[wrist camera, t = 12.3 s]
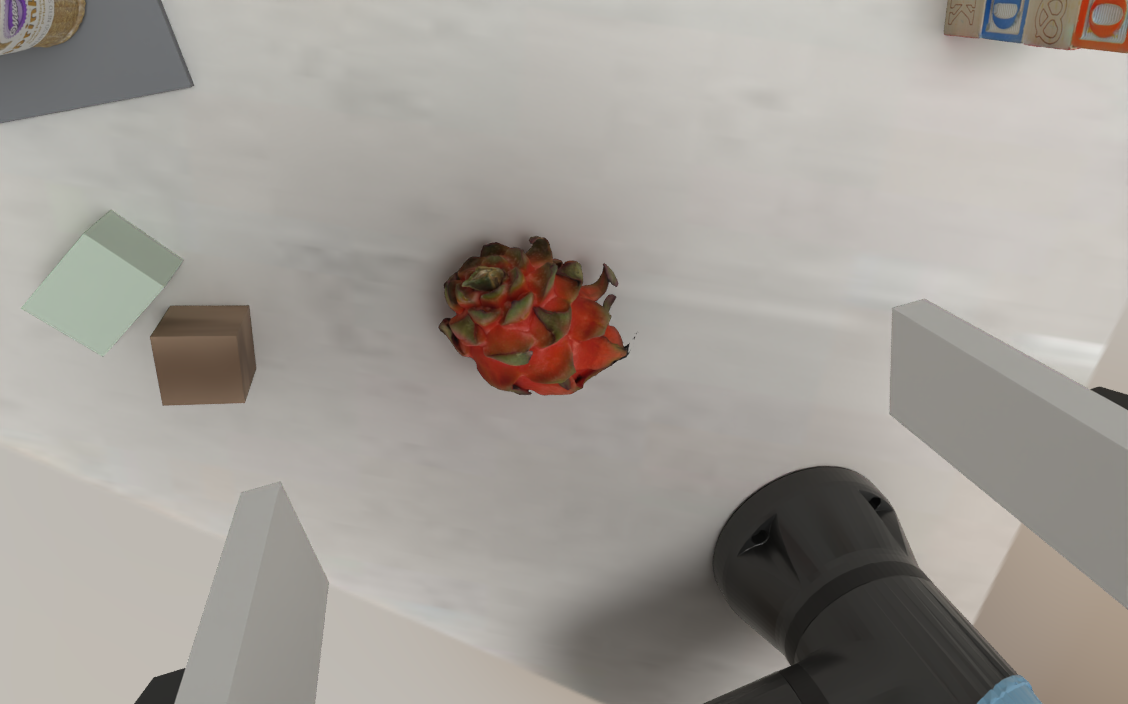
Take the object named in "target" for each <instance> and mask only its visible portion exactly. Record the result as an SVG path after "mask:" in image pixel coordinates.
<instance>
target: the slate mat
mask: <svg viewBox="0 0 1128 704" xmlns="http://www.w3.org/2000/svg"><path fill="white" fill-rule="evenodd" d="M85 2H86V4H85V13H84V16H83V19H82V23H80V25H79V28H78V30H77V31H76V33H75V34H74V35H73V36H72V37H71V38H70V39H68V40H67V41H65V42H64V43H60V44H58V45H53V46H51V47H31V48H29V49H26V50H23V51H19V52H14V53H9V54H4V55H0V123H3V122H8V121H14V120H19V119H24V118H30V117H35V116H40V115H46V114H51V113H56V112H61V111H67V110H72V109H77V108H83V107H88V106H93V105H98V104H104V103H109V102H114V101H120V100H125V99H130V98H136V97H141V96H146V95H151V94H157V93H162V92H167V91H173V90H178V89H183V88H188V87H192V86H194V84H193V82H192V79H191V76H190V74H189V71H188V69H187V66H186V64H185V61H184V58H183V56H182V53H181V51H180V48H179V46H178V43H177V40H176V38H175V35H174V33H173V30H172V28H171V25H170V22H169V20H168V17H167V15H166V12H165V10H164V7H163V4H162V2H161V0H85Z"/></svg>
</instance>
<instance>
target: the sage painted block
mask: <svg viewBox="0 0 1128 704" xmlns="http://www.w3.org/2000/svg"><path fill="white" fill-rule="evenodd" d="M182 262H183V259H182V258H180V257H179V256H177V255H176V254H174V253H173V252H171V251H170V250H169V249H167V248H166V247H164V246H163V245H161V244H160V243H158V242H157V241H156V240H154V239H153V238H151V237H150V236H148V235H147V234H146V233H144V232H143V231H141V230H140V229H138V228H137V227H135V226H134V225H133V224H131V223H130V222H128V221H127V220H125V219H124V218H122V217H121V216H120V215H118V214H117V213H115V212H114V211H112V210H110V211H109V212H108V213H107V214H106V215H105V216H103V217H102V218H101V219H100V220H99V221H98V222H96V223H95V224H94V225H93V226H92V227H90V228H89V229H88V230H87V231H86V232H85V233H83V235H82V236H81V237H80V238H79V239H78V241H77V242H76V243H75V244H74V245H73V247H72V248H71V249H70V250H69V251H68V253H67V254H66V255H65V256H64V257H63V259H62V260H61V261H60V262H59V263H58V265H57V266H56V267H55V268H54V269H53V271H52V272H51V273H50V274H49V275H48V277H47V278H46V279H45V280H44V281H43V282H42V284H41V285H40V286H39V287H38V288H37V290H36V291H35V292H34V293H33V294H32V296H31V297H30V298H29V299H28V300H27V302H26V303H25V304H24V305H23V306H22V308H21V309H23V310H24V311H26V312H28V313H29V314H31V315H33V316H34V317H36V318H38V319H40V320H41V321H43V322H45V323H46V324H48V325H50V326H51V327H53V328H55V329H57V330H58V331H60V332H62V333H63V334H65V335H67V336H68V337H70V338H72V339H74V340H75V341H77V342H79V343H80V344H82V345H84V346H85V347H87V348H89V349H91V350H92V351H94V352H96V353H97V354H99V355H101V356H102V357H103V356H104V355H105V354H106V353H107V352H108V351H109V350H110V349H111V347H112V346H113V345H114V344H115V343H116V342H117V341H118V339H119V338H120V337H121V336H122V335H123V334H124V333H125V331H126V330H127V329H128V328H129V327H130V326H131V325H132V324H133V322H134V321H135V320H136V319H137V318H138V317H139V316H140V314H141V313H142V312H143V311H144V310H145V309H146V308H147V306H148V305H149V304H150V303H151V302H152V301H153V300H154V299H155V297H156V296H157V295H158V294H159V293H160V292H161V291H162V289H163V288H164V287H165V286H166V284H167V283H168V282H169V280H170V279H171V277H172V276H173V274H174V273H175V272H176V270H177V269H178V267H179V266H180V264H181V263H182Z"/></svg>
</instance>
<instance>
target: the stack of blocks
mask: <svg viewBox="0 0 1128 704" xmlns="http://www.w3.org/2000/svg"><path fill="white" fill-rule="evenodd" d="M944 34H945V35H950V36H962V37H970V38H985V39H991V40H998V41H1006V42H1014V43H1024V44H1025V45H1029V46H1036V47H1046V48H1055V49H1064V50H1075V49H1079V48H1085V49H1094V50H1103V51H1111V52H1120V53H1128V0H948V3H947V11H946V19H945V26H944Z"/></svg>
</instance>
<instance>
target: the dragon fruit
mask: <svg viewBox="0 0 1128 704" xmlns="http://www.w3.org/2000/svg"><path fill="white" fill-rule="evenodd" d="M529 241H530V244H533V245H532V247H531V248H530V249H529V251H528V252H527V253H526V254H524V251H523V250H521V249H520V248H515V247H514V248H509V247H507V246H504V245H502V244H500V243H497V242H495V243H490V244H487V245H484V246H483V248H482V251H481V255H480V257H471V258H469V259H468V260H467V261H466V262H465V263H464V264H463V266H462V267H461V268H460V269H459V271H458V272H456V273H455V274H454V275H452V276H451V277H450V278H449V279H448V281H447V282H446V283H444V288H445V298H446V301H447V303H448V305H449V307H450V308H451V309H452V310H453V311H455V312H456V316H454V317H453V318H452V319H450V318H445V319H444V320H443V321H442V322H441V323H440V325H439V329H440V331H441V332H443V333H444V334H445V335H446V336H447V337H448V339H449V340H450V341H451V343H452V344H453V346H454V347H455V349H456V350H457V352H459V354H461V355H462V356H465V357H471V358H473V359H474V360H475V362H476V364H477V369H478V371H479V373H480V374H481V376H482V377H483V378H484V379H485V380H486V381H487V382H488V383H489V384H490V385H491V386H493V387H495V388H497V389H500V390H504V391H511V392H515V393H517V394H519V395H530V394H532V393H531V392H529V390H533V391H535V392H536V393H538V394H540V395H567V394H572V393H574V392H576V391H577V390H580V389H582V388H583V384H584V383H585V382H586V381H587V380H588V379H590V378H591V377H593V376H596V375H597V374H598V373H599V372H601V371H602V370H604V369H606V368H608V367H610V366H612V364H614V363H615V362H616V361H618V360H621V359H623V358H626V357H627V355H628V354H629V353H628V348H629V344H630V343H629V344H628V345H627V346H623V341H622V338H621V336H620V334H619V332H618V330H617V329H616V328H615V327H614V326H609V321H610V319H611V315H610V314H609V310H610V307H611V306H612V304H613V302H614V300H615V299H616V296H615V295H613V294H610V295H608V296H607V297H606V299H605V300H604V303H603V306H601V305H600V304H598V303H597V302H595V301H597V300H598V299H599V298H600V297H601V296H602V295H604V293H605V292H606V290H607V287H608V284H609V282H610V283H611V284H612V285H614V286H615V287H617V286H618V281H617V279H616V277H615V275H614V273H613V271H612V270H611V269H610V268H609V267H608V266H607V265H606V264H605V263H604V264H603V266H604V267H603V272H602V274H601V276H600V278H599V279H598V281H596V282H595V283H594V284H591V285H584V286H582V283H583V273H582V269H581V265H580V263H578V262H577V261H567V262H565V263H564V264H563V262H562V261H561V260H558V259H553V256H552V251H551V249H550V244H549V242H548V240H547V239H546V238H541V237H538V236H534V237H530V239H529ZM636 334H637V333H636ZM634 338H635V337H634ZM634 338H633V339H634ZM629 352H630V351H629Z"/></svg>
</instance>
